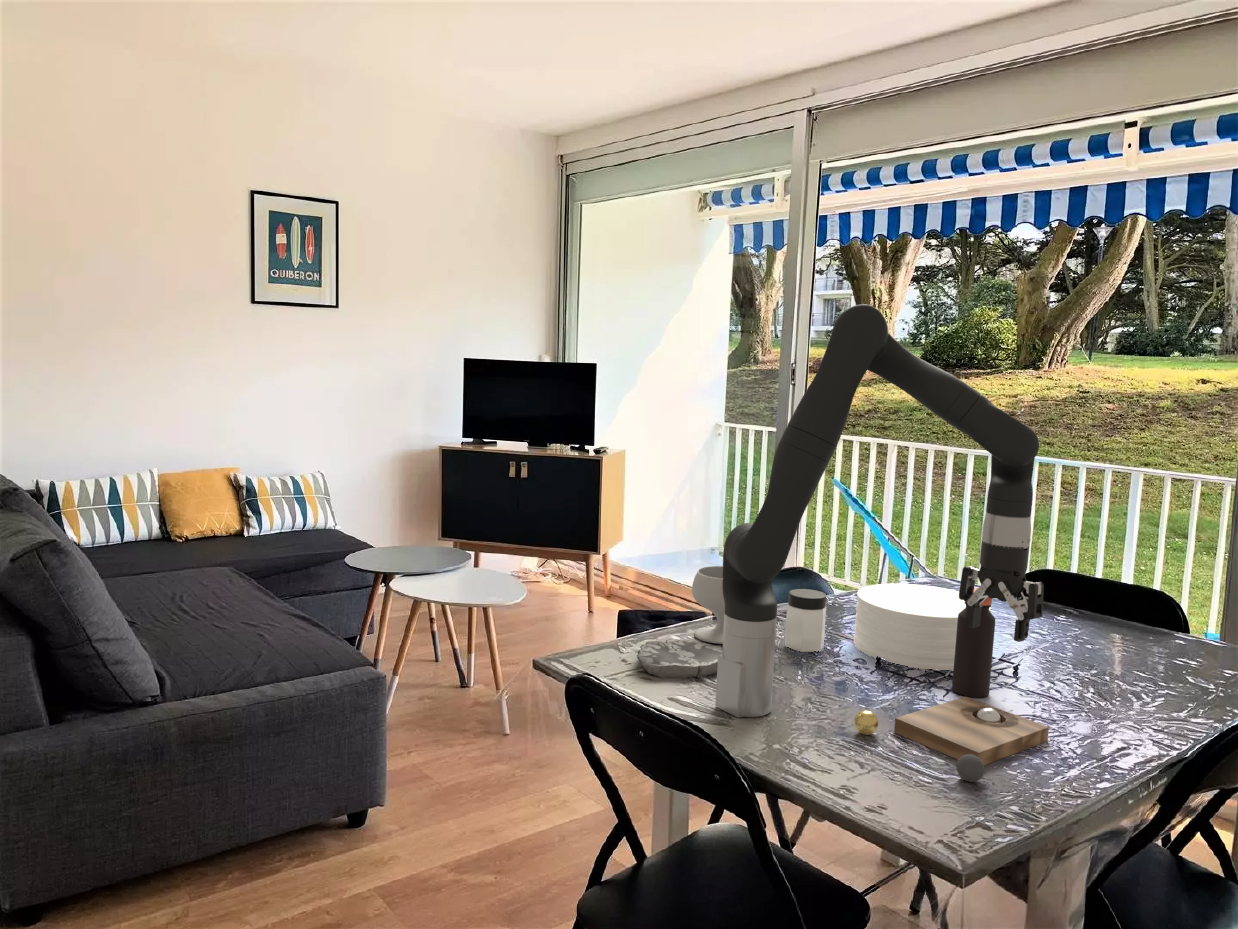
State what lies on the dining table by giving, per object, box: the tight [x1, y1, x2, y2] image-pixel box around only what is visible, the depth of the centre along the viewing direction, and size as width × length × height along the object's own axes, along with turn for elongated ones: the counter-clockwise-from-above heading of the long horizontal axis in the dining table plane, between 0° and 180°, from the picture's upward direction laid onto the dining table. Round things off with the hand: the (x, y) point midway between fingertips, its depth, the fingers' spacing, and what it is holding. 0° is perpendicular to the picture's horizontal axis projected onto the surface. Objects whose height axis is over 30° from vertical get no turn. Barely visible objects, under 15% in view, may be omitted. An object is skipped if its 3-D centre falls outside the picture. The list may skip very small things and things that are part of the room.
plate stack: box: [853, 583, 992, 671], centre depth 204 cm, size 28×28×12 cm
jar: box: [784, 588, 827, 653], centre depth 203 cm, size 9×8×12 cm
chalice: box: [691, 565, 725, 645], centre depth 207 cm, size 14×14×15 cm
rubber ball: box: [956, 754, 985, 783], centre depth 140 cm, size 4×4×4 cm
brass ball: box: [853, 709, 879, 736], centre depth 157 cm, size 4×4×4 cm
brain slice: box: [636, 638, 723, 679], centre depth 188 cm, size 20×17×3 cm
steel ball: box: [976, 708, 1001, 723], centre depth 160 cm, size 4×4×4 cm
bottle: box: [951, 587, 996, 699], centre depth 178 cm, size 7×7×20 cm
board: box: [893, 696, 1050, 766], centre depth 157 cm, size 20×16×2 cm
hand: (996, 633), depth 158 cm, fingers open, 8 cm apart
